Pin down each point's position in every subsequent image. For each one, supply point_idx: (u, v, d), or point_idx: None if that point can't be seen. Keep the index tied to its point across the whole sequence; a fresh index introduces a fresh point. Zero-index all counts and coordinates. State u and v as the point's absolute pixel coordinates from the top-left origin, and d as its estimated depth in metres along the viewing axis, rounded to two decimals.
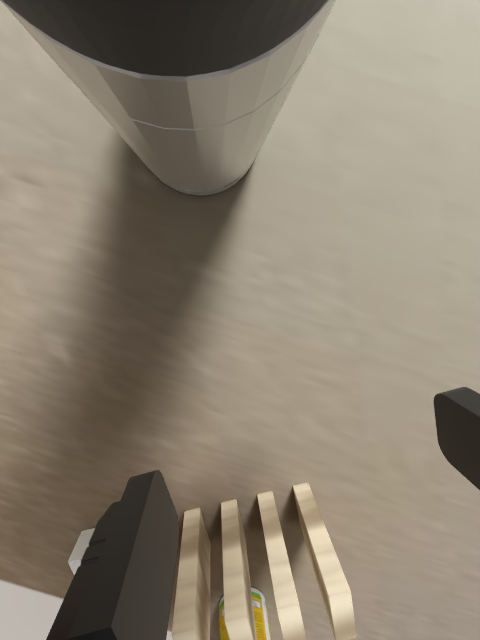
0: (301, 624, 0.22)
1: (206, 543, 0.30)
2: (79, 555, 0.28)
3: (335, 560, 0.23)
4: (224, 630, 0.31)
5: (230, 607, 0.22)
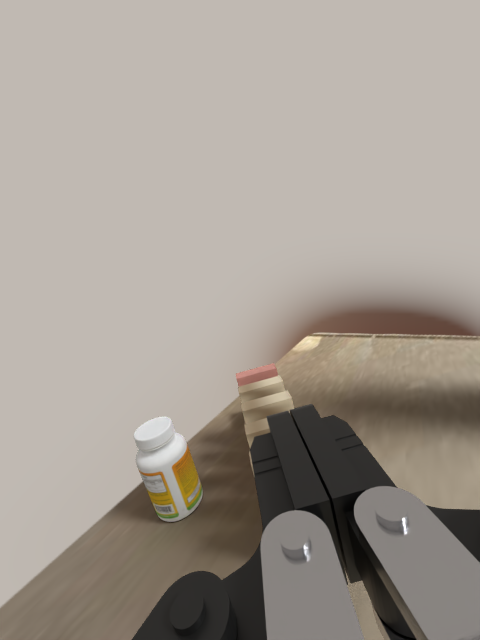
0: None
1: None
2: None
3: None
4: None
5: None
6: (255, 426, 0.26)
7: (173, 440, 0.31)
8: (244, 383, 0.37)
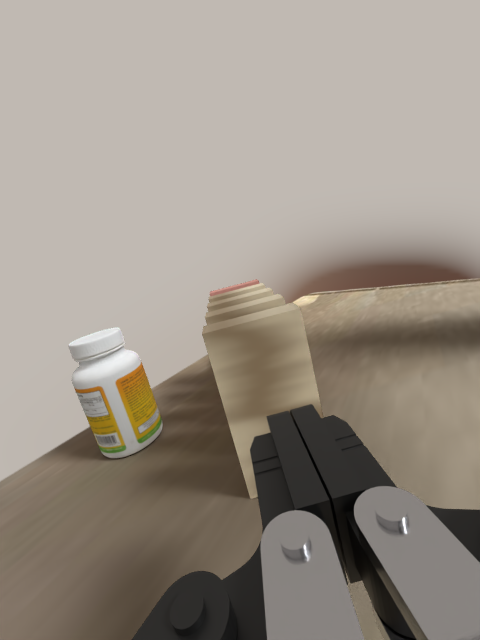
0: (250, 305, 0.18)
1: None
2: None
3: None
4: None
5: None
6: (220, 311, 0.19)
7: (121, 352, 0.24)
8: None
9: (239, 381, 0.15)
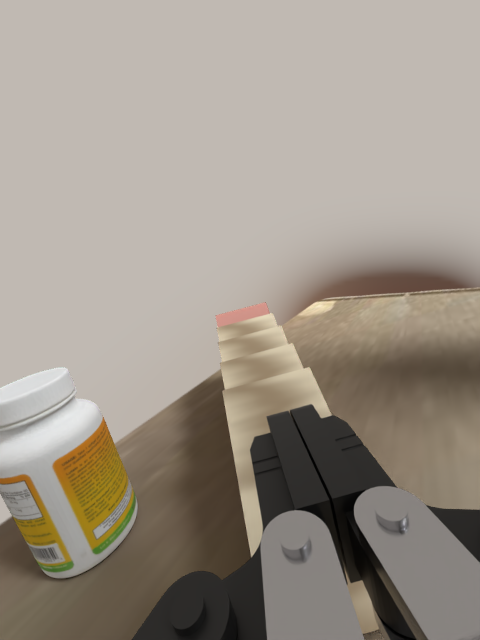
0: (262, 352, 0.20)
1: None
2: None
3: None
4: None
5: None
6: None
7: (68, 410, 0.15)
8: (224, 320, 0.28)
9: (254, 435, 0.14)
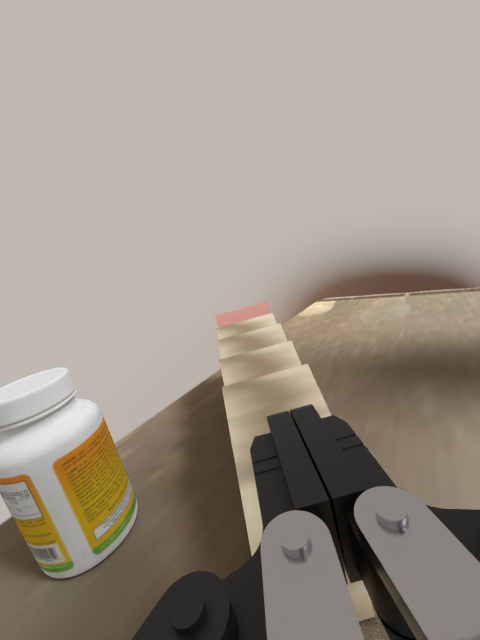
0: (261, 349, 0.20)
1: None
2: None
3: None
4: None
5: None
6: None
7: (68, 410, 0.15)
8: (224, 320, 0.28)
9: (253, 430, 0.15)
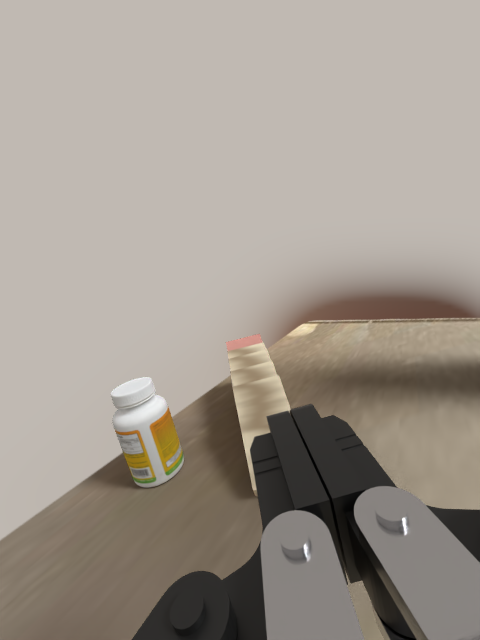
0: (254, 365, 0.34)
1: None
2: None
3: None
4: None
5: None
6: None
7: (153, 399, 0.29)
8: (232, 345, 0.42)
9: (248, 409, 0.29)
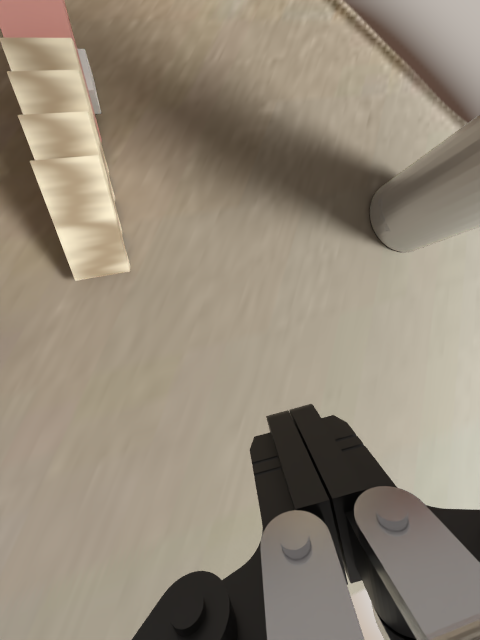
0: None
1: None
2: (87, 61, 0.28)
3: (106, 184, 0.25)
4: None
5: (83, 83, 0.25)
6: None
7: None
8: (4, 7, 0.23)
9: (60, 199, 0.25)
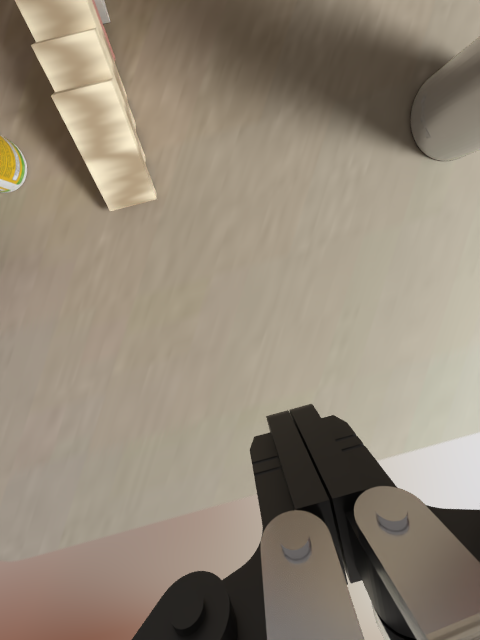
0: (67, 35, 0.23)
1: None
2: None
3: (123, 111, 0.26)
4: None
5: None
6: (45, 40, 0.23)
7: None
8: None
9: (84, 133, 0.26)
